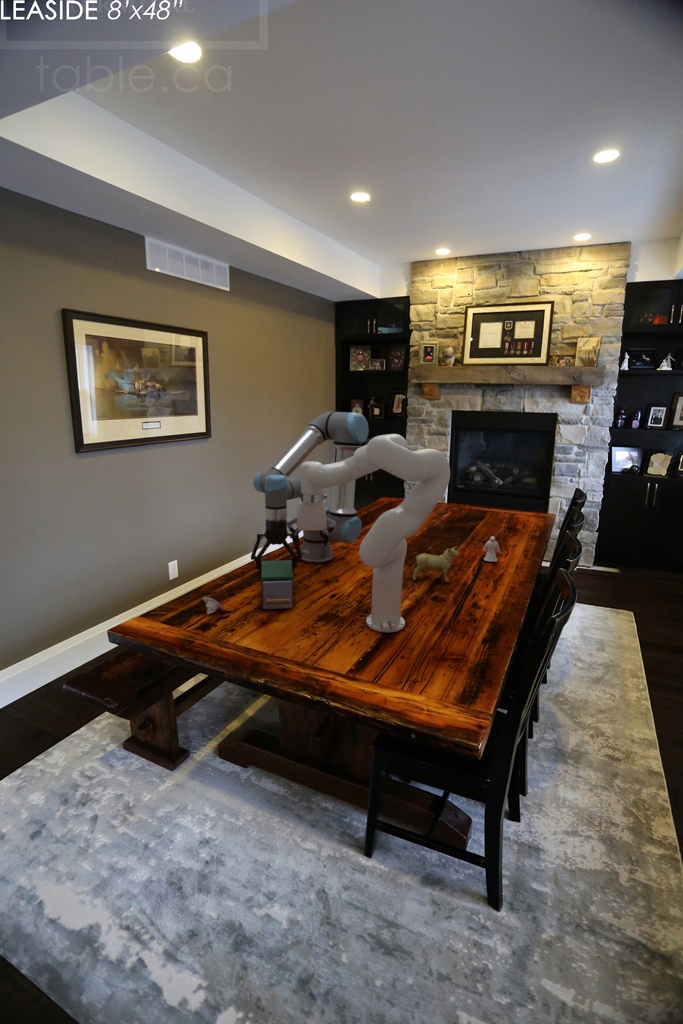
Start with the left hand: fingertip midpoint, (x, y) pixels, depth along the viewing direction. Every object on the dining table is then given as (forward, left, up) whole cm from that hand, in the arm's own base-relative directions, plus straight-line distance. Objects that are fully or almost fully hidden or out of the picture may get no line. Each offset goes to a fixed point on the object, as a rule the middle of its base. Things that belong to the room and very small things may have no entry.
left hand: (276, 576), depth 183 cm
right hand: (+1, +14, +14) cm, 19 cm away
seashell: (+20, -15, -7) cm, 26 cm away
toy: (-32, +55, -7) cm, 64 cm away
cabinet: (+4, +2, -7) cm, 8 cm away
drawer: (+9, +4, -6) cm, 12 cm away
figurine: (-64, +77, -7) cm, 100 cm away
